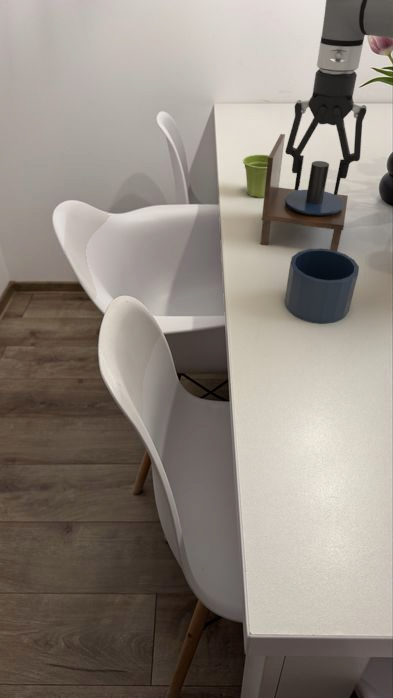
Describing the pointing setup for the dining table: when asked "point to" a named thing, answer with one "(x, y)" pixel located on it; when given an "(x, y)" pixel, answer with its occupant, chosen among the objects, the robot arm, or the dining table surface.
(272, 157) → the wooden toy chair
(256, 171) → the plant pot
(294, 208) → the lid
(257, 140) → the dining table surface
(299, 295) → the pot
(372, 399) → the dining table surface
